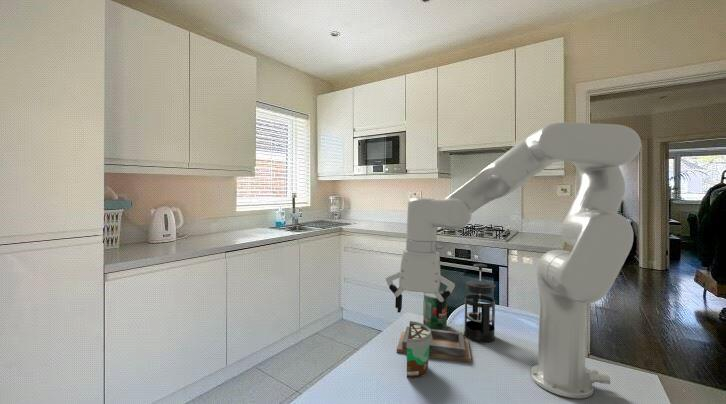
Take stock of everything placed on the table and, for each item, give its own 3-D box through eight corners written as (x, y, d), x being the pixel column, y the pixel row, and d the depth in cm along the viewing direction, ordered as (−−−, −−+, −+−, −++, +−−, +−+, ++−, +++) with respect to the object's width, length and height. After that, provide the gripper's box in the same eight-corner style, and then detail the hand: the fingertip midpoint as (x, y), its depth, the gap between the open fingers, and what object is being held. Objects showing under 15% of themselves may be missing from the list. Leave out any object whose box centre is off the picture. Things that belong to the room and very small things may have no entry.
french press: (459, 328, 105) (460, 260, 105) (488, 329, 105) (489, 261, 105) (470, 345, 94) (471, 268, 93) (502, 346, 93) (503, 269, 93)
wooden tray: (467, 342, 96) (467, 332, 95) (471, 362, 84) (471, 351, 84) (402, 334, 100) (402, 325, 100) (396, 352, 89) (396, 341, 89)
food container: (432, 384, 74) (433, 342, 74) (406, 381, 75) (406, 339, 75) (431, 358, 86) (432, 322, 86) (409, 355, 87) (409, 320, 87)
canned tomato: (442, 332, 102) (443, 299, 102) (419, 327, 106) (420, 294, 106) (449, 324, 109) (450, 293, 109) (427, 319, 113) (428, 289, 113)
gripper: (455, 247, 81) (452, 312, 82) (389, 242, 86) (387, 304, 86) (457, 251, 74) (453, 323, 74) (384, 246, 78) (382, 314, 79)
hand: (418, 313), depth 80 cm, fingers open, 9 cm apart
